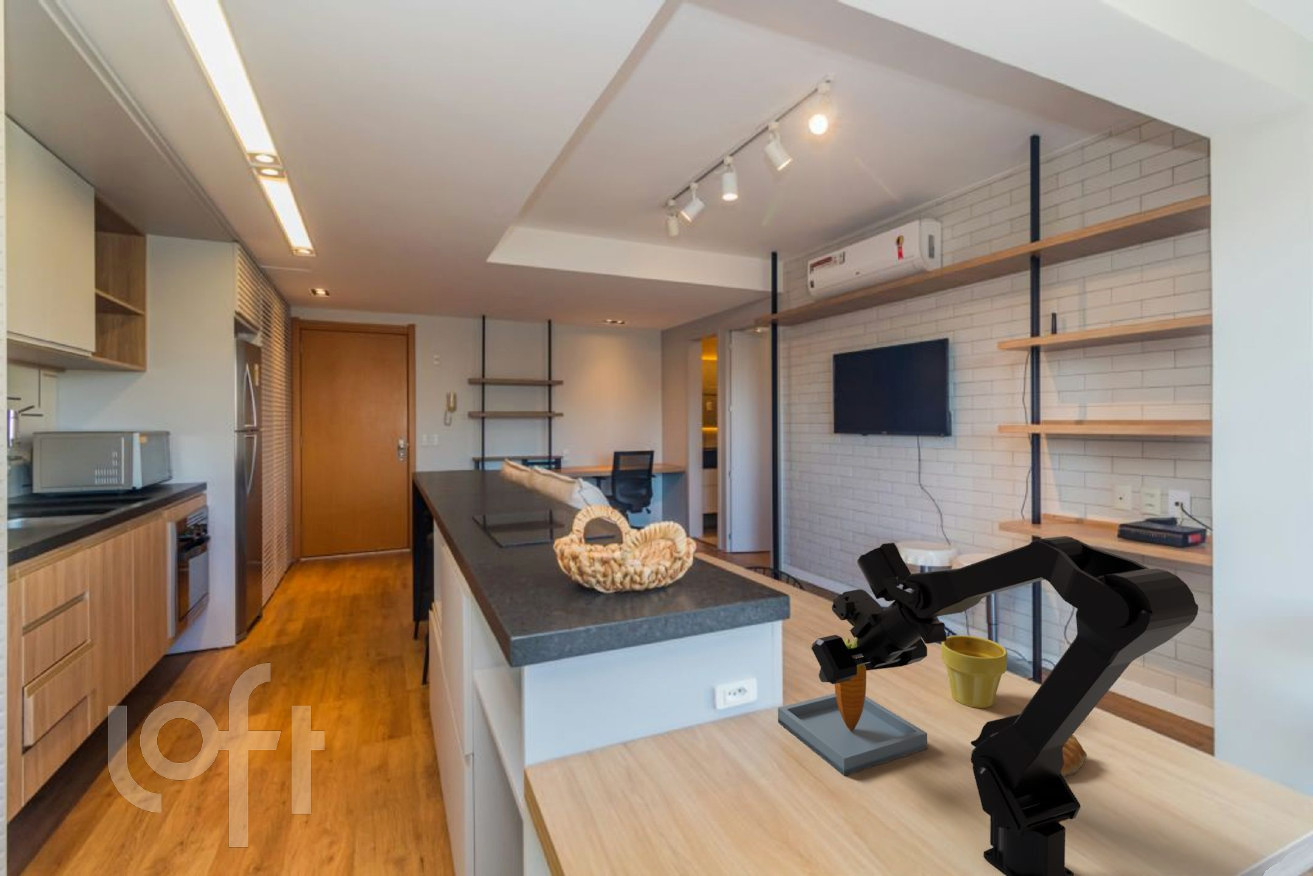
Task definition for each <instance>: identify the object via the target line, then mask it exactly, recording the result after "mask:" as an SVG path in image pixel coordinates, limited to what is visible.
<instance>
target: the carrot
mask: <svg viewBox="0 0 1313 876" xmlns="http://www.w3.org/2000/svg"><path fill="white" fill-rule="evenodd" d="M857 640H858V639H857V638H856V637H855V639H854V642H853V643H851V639H850V638H846V639H845V644H846V646H847V648H848V649H851V648H856V647H858V646H857ZM853 659H855V658H853ZM834 692H835V693H836V698H837V703H838V707H839V711H840V713H841V716H842V718H843V720H844V722H845V724H846V726H847V728H848V729H849V730H850V731H852V730H854V729H855V727H856V725H857V723H858V721H859V719H860V717H861V714H862V711H863V706H864V701H865V696H866V694H867V671H866V666H865V664H862V665H858V666H857V675H856V676H855V677H853V678H851V679H850V680H849V681H845V682H841V683H838V684H834ZM835 693H834V694H835Z"/></svg>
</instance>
